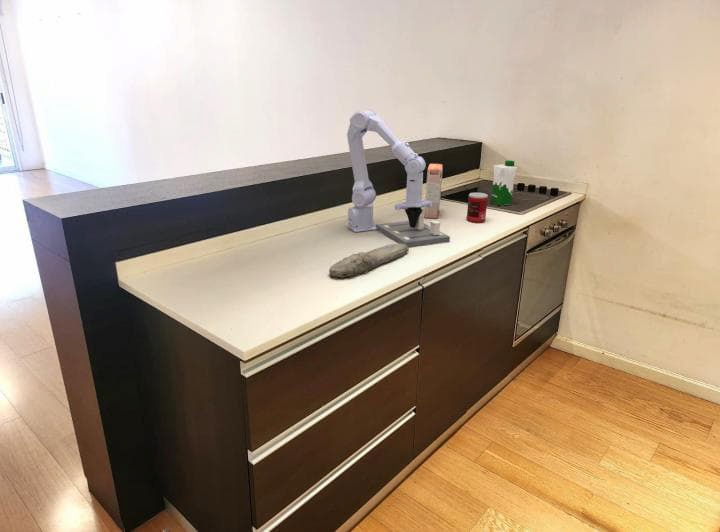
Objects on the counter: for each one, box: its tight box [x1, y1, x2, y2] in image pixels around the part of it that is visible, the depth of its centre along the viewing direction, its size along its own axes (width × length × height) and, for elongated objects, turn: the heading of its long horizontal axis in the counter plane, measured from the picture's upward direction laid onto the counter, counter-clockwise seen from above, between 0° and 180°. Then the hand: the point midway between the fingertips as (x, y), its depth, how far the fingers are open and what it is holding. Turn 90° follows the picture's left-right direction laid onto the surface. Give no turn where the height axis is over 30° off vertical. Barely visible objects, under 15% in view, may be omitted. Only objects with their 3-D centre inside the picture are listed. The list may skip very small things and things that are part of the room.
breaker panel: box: [375, 220, 451, 249], centre depth 185 cm, size 18×24×2 cm
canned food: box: [466, 192, 489, 224], centre depth 204 cm, size 8×8×11 cm
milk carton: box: [490, 160, 518, 205], centre depth 229 cm, size 9×9×20 cm
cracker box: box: [423, 163, 443, 220], centre depth 210 cm, size 14×6×21 cm, turn 168°
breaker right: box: [430, 220, 441, 235], centre depth 179 cm, size 2×3×4 cm
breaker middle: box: [415, 215, 425, 230], centre depth 185 cm, size 2×3×4 cm
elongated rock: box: [328, 243, 410, 279], centre depth 157 cm, size 35×5×10 cm
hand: (412, 227), depth 185 cm, fingers closed
